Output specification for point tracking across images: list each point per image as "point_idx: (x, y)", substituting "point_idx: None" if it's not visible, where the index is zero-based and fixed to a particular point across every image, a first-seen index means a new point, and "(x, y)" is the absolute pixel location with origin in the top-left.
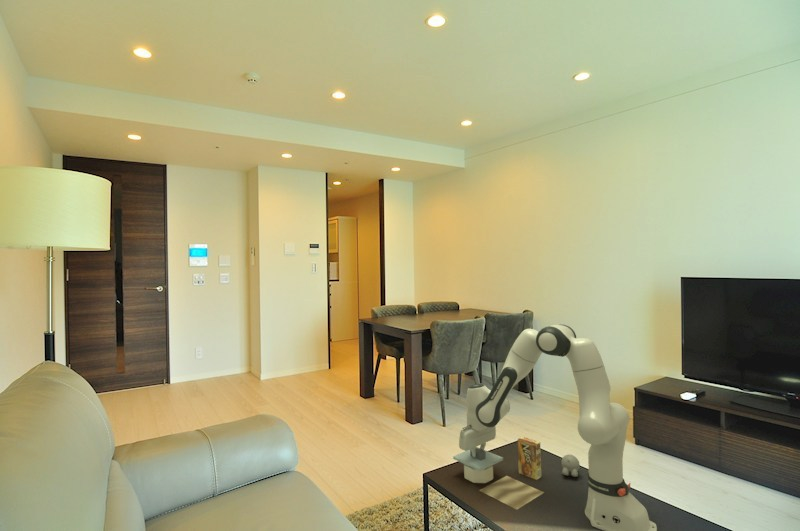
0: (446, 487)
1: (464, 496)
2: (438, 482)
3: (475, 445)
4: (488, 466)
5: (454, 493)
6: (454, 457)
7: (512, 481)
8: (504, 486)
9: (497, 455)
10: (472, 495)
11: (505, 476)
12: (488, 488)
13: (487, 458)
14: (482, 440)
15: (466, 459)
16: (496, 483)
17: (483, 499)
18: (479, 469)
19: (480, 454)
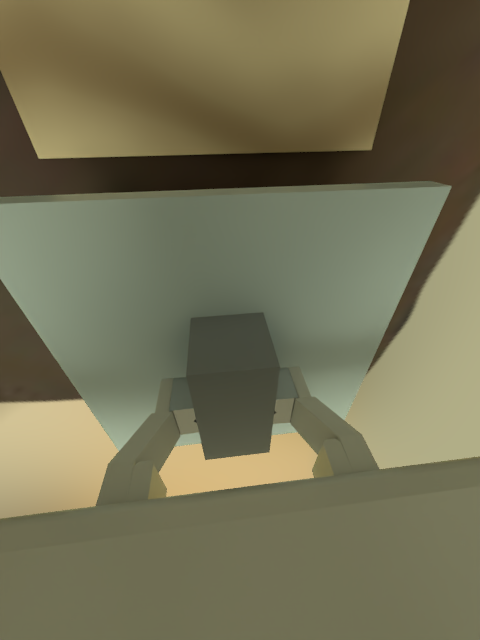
0: (409, 297)
1: (462, 174)
2: (385, 340)
3: (393, 500)
4: (287, 187)
5: (449, 236)
6: (342, 418)
7: (38, 24)
8: (180, 14)
9: (15, 294)
10: (432, 145)
11: (57, 156)
12: (307, 115)
13: (177, 306)
14: (204, 580)
15: (329, 376)
16: (200, 126)
17: (458, 24)
18: (436, 195)
19: (276, 359)
